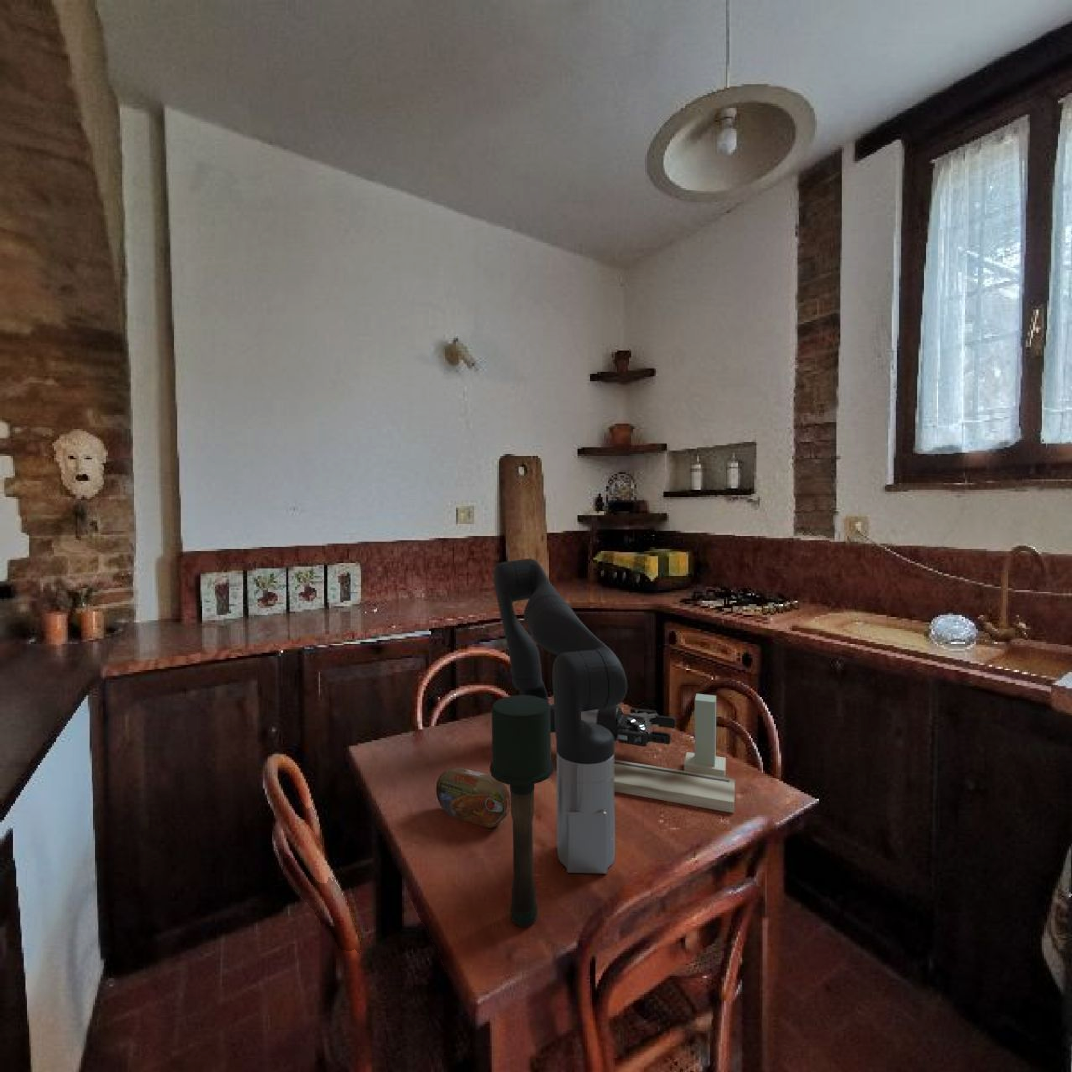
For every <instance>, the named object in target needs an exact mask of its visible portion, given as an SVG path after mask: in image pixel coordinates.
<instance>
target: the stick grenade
mask: <svg viewBox="0 0 1072 1072" xmlns="http://www.w3.org/2000/svg"><path fill="white" fill-rule="evenodd" d="M550 705H551V704H550V702H549V703H548V702H547V701H546V700H544V699H542V698H540V697H536V696H529V695H521V694H519V695H518V694H517V695H516V694H515V695H510V696H505V697H502V698H499V699H497V700H496V701H494V702H493V705H492V707H491V745H492V746H491V749H492V750H491V753H492V754H491V755H492V756H491V760H492V761H491V762H490V765H489V772H490V775H492V777H493V778H495V779H496V780H497V781H499V782H502V783H504V785H509V790H510V815H511V816H510V817H511V820H512V848H513V849H512V850H513V851H512V852H513V853H512V857H513V859H512V861H513V862H512V863H513V865H512V866H513V870H512V871H513V880H512V885H511V893H510V894H511V896H510V897H511V901H510V903H511V904H510V907H509V908H510V909H509V912H510V917H511V919H512V922H513V924H515V925H516V926H518V927H522V928H524V927H525V928H526V927H529V926H531V925H532V924H534V923H535V921H536V920H537V919H536V918H537V917H538V916H537V915H538V904H537V894H536V893H537V889H536V885H535V881H534V880H535V879H534V852H533V851H534V850H533V849H534V847H533V846H534V844H533V843H534V841H533V838H534V835H533V828H534V827H533V821H534V814H535V784H539V783H542V782H544V781H545V780H546V781H547V780H548V779H550V777H551V776H552V775H553V773H554V767H555V766H554V762H553V761H552V748H551V747H552V746H551V744H552V743H551V742H552V741H551V738H552V736H551V735H552V734H551V727H550Z"/></svg>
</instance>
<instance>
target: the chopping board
mask: <svg viewBox="0 0 1072 1072" xmlns="http://www.w3.org/2000/svg"><path fill="white" fill-rule="evenodd" d="M735 791H736V778H730V777H726V776H725V777H719V776H713V775H707V774H700V773H694V772H688V771H684V770H680V769H675V768H669V767H663V766H662V767H661V766H654V765H648V764H643V763H636V762H630V761H625V760H619V759H618V760H617V759H614V793H621V794H625V795H626V794H627V795H632V796H637V797H643V798H648V799H649V798H650V799H654V800H661V801H666V802H669V803H676V804H681V805H688V806H692V807H698V808H704V809H710V810H716V811H721V812H724V813H725V812H727V813H731V814H734V813H735V798H736V797H735V796H736V795H735V794H736V792H735Z"/></svg>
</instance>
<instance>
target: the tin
mask: <svg viewBox="0 0 1072 1072" xmlns="http://www.w3.org/2000/svg"><path fill="white" fill-rule="evenodd" d="M435 793H436V799H437V801H438V803H439V806H440V807H441V809H442V810H443V811H444V812H445V813H446V814H447V815H449V816H450V817H452V818H456V819H459V820H461V821H465V822H468V823H471V824H475V825H477V826H481V827H484V828H489V829H490V828H495V827H497V826H498V825H500V824H501V822H502V821H504V820H505V819H506V817H507V816H508V814H509V812H510V810H511V795H510V793H509V789H508V787H507V786H506V784H505V783H502V782H499V781H497V780H496V779H495V778H493V777H492V775H491V774H487V773H483V772H480V771H476V770H471V769H468V768H465V767H460V766H459V767H458V766H457V767H453V768H450V769H449V770H446V771H444V772H443V773H442V774H440V775H439V776H438V779H437V782H436V787H435Z"/></svg>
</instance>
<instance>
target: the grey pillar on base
mask: <svg viewBox="0 0 1072 1072" xmlns="http://www.w3.org/2000/svg"><path fill="white" fill-rule="evenodd" d="M694 697H695V698H694V752H691V751H687V752H686V755H685V758H684V763H683V771H688V772H694V773H700V774H707V775H713V776H719V777H725V778H726V769H727V758H726V757H722V756H717V753H716V751H717V749H716V748H717V745H716V744H717V739H716V738H717V695H712V694H702V693H696V694H695V696H694Z"/></svg>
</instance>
